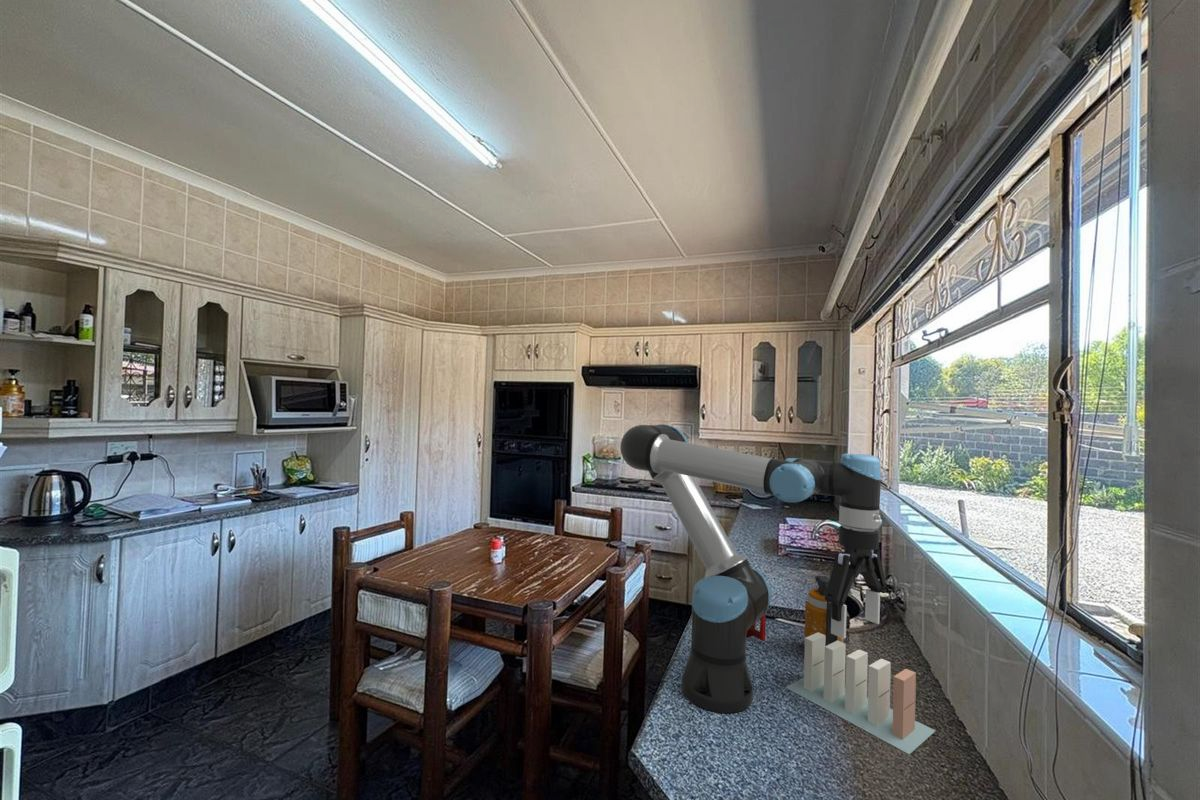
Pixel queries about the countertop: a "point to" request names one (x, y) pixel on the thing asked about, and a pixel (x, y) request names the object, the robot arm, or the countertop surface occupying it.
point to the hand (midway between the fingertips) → (855, 628)
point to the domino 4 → (879, 692)
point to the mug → (757, 634)
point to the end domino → (904, 703)
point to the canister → (819, 612)
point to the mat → (865, 719)
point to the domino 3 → (856, 681)
